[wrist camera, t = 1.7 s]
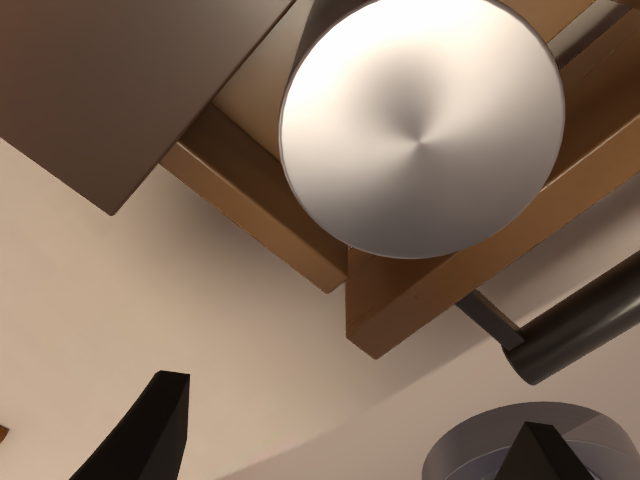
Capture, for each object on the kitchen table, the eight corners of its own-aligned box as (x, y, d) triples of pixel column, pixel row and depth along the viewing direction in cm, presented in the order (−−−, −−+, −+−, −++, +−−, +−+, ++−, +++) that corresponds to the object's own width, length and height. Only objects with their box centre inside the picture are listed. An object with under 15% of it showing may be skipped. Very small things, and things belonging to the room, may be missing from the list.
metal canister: (508, 43, 13) (625, 138, 8) (384, 157, 15) (408, 302, 10) (392, -93, 12) (435, -96, 6) (269, 49, 14) (219, 145, 8)
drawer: (770, 146, 16) (899, 217, 12) (463, 351, 20) (489, 447, 17) (337, -487, 10) (334, -715, 6) (40, 1, 14) (-61, 32, 11)
